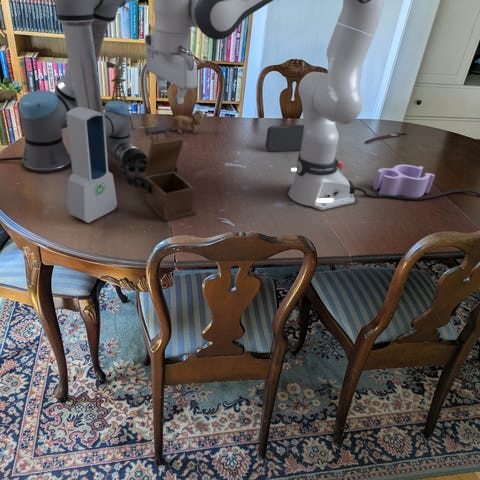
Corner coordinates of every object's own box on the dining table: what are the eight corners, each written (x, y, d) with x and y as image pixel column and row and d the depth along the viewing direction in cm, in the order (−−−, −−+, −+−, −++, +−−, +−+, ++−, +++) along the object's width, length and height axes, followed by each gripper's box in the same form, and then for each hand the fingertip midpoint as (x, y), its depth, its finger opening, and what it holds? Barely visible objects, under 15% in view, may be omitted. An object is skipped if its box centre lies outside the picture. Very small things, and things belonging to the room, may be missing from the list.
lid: (183, 139, 133) (170, 118, 137) (153, 144, 128) (140, 122, 132) (174, 170, 143) (163, 150, 147) (146, 176, 138) (134, 155, 142)
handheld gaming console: (315, 147, 196) (319, 124, 190) (317, 149, 194) (322, 126, 188) (264, 149, 189) (267, 125, 183) (266, 152, 187) (269, 127, 181)
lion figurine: (200, 128, 202) (201, 108, 197) (204, 133, 198) (205, 112, 193) (167, 129, 197) (167, 108, 192) (170, 134, 193) (170, 113, 188)
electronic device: (85, 224, 129) (74, 119, 113) (67, 215, 132) (53, 112, 116) (118, 208, 139) (112, 108, 122) (99, 200, 142) (92, 102, 125)
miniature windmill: (125, 135, 188) (121, 57, 171) (105, 132, 189) (100, 54, 172) (134, 128, 195) (131, 52, 179) (115, 125, 196) (110, 49, 180)
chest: (193, 213, 140) (194, 188, 136) (164, 221, 135) (164, 194, 131) (173, 195, 149) (173, 171, 144) (146, 202, 144) (145, 176, 139)
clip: (386, 199, 160) (391, 181, 156) (367, 183, 170) (371, 166, 166) (433, 195, 166) (439, 178, 163) (412, 180, 176) (417, 163, 172)
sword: (403, 131, 224) (404, 129, 223) (408, 133, 222) (409, 131, 221) (360, 143, 208) (360, 140, 207) (365, 145, 206) (366, 142, 205)
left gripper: (161, 162, 163) (196, 189, 148) (100, 175, 151) (131, 204, 136) (162, 142, 159) (197, 167, 144) (99, 153, 146) (131, 181, 132)
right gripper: (204, 51, 112) (202, 108, 119) (162, 34, 125) (162, 86, 132) (182, 52, 108) (180, 111, 116) (141, 34, 121) (142, 88, 129)
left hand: (165, 185), depth 140 cm, fingers closed on chest, 10 cm apart
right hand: (170, 98), depth 124 cm, fingers open, 8 cm apart
